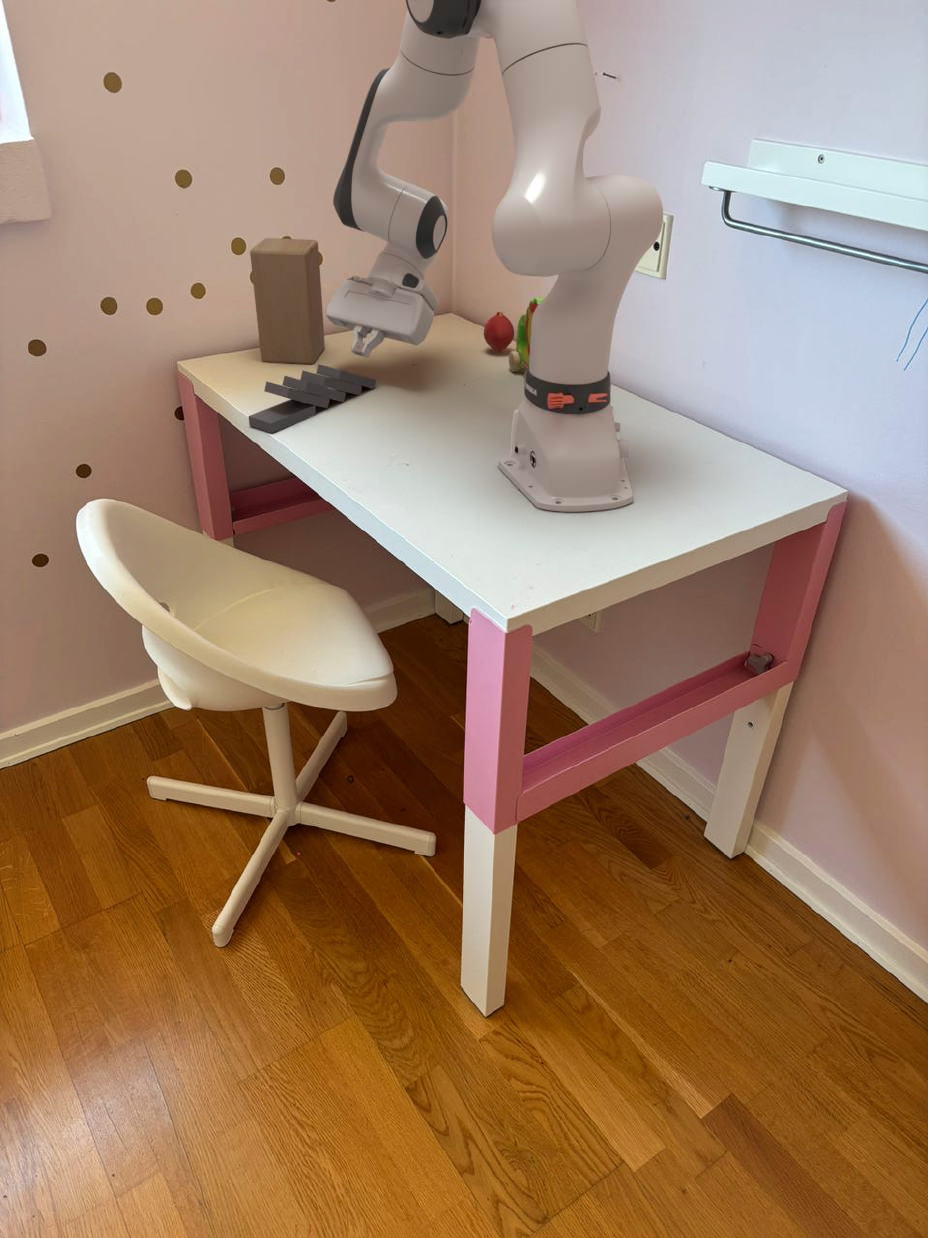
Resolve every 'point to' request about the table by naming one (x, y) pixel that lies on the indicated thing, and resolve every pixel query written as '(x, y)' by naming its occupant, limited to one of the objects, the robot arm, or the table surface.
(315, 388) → the domino
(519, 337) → the toy lion
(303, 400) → the domino
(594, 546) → the table surface
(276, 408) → the domino
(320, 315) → the wooden block
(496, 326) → the onion
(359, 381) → the domino
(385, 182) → the robot arm
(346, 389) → the domino
